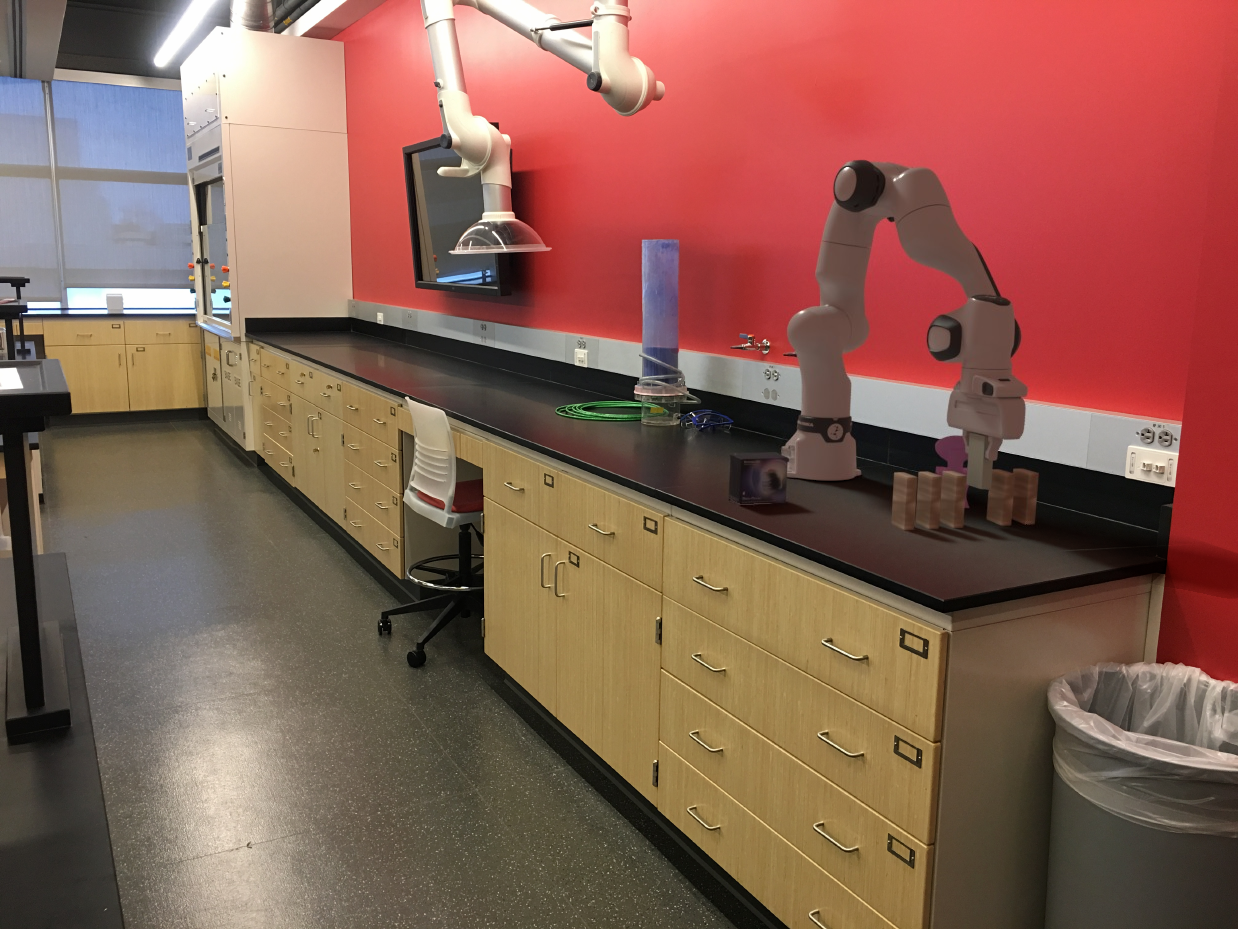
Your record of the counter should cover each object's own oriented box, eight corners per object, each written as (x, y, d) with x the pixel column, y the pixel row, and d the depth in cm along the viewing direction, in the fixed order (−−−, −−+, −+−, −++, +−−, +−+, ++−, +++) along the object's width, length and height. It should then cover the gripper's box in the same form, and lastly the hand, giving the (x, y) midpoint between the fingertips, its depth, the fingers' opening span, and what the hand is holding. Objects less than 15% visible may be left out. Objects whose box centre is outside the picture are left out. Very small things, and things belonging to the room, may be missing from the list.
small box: (739, 509, 199) (741, 458, 197) (727, 503, 205) (728, 453, 203) (787, 506, 202) (789, 456, 200) (773, 500, 208) (775, 451, 206)
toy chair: (969, 502, 208) (974, 431, 206) (975, 510, 200) (980, 437, 197) (928, 500, 210) (933, 430, 207) (932, 508, 201) (937, 435, 199)
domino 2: (928, 529, 183) (932, 476, 181) (915, 523, 188) (918, 471, 186) (938, 529, 184) (942, 476, 182) (925, 523, 188) (928, 471, 187)
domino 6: (1025, 525, 187) (1029, 473, 186) (1009, 519, 192) (1013, 468, 190) (1034, 524, 188) (1038, 473, 186) (1018, 519, 192) (1022, 468, 191)
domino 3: (953, 528, 184) (956, 475, 182) (939, 522, 189) (942, 471, 187) (963, 528, 185) (966, 475, 183) (948, 522, 189) (952, 470, 188)
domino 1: (904, 530, 182) (907, 477, 180) (891, 524, 187) (894, 472, 185) (914, 530, 182) (917, 477, 181) (900, 524, 187) (904, 472, 186)
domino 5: (1001, 526, 186) (1005, 474, 184) (986, 520, 191) (990, 469, 189) (1010, 525, 187) (1015, 473, 185) (995, 520, 191) (999, 469, 190)
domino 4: (981, 489, 184) (984, 436, 182) (966, 484, 189) (969, 432, 187) (991, 488, 184) (994, 435, 183) (975, 483, 189) (979, 432, 187)
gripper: (940, 379, 193) (936, 449, 195) (1002, 388, 173) (996, 466, 175) (969, 378, 194) (965, 448, 196) (1034, 388, 174) (1028, 465, 176)
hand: (980, 457), depth 186 cm, fingers closed on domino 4, 5 cm apart
